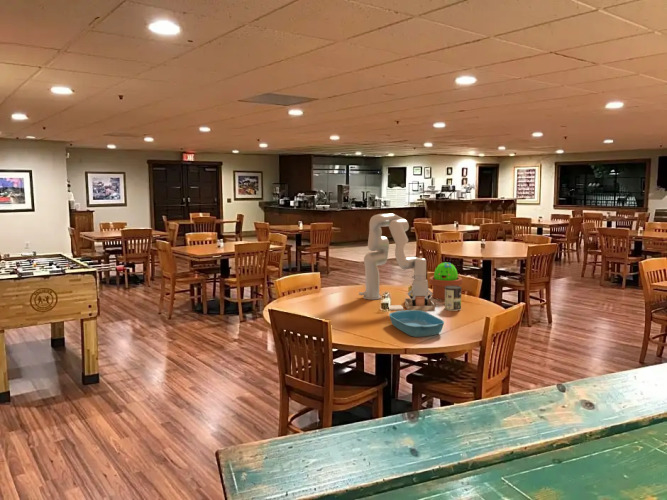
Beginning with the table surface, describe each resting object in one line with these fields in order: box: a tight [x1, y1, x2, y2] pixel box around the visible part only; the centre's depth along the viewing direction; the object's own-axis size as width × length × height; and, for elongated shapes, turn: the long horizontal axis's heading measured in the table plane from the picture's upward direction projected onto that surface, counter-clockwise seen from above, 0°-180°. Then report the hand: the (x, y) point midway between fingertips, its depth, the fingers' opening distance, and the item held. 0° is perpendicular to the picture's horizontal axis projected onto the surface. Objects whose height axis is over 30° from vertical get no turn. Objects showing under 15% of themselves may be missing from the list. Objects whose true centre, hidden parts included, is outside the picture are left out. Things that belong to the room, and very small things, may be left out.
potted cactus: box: [428, 261, 463, 301], centre depth 360 cm, size 22×22×25 cm
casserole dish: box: [388, 309, 445, 338], centre depth 286 cm, size 37×22×7 cm, turn 18°
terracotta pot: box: [415, 296, 425, 306], centre depth 333 cm, size 7×7×8 cm
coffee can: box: [444, 285, 463, 312], centre depth 329 cm, size 10×10×14 cm
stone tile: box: [388, 304, 404, 311], centre depth 333 cm, size 9×9×1 cm
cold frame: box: [404, 297, 436, 311], centre depth 333 cm, size 17×13×5 cm
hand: (419, 305), depth 333 cm, fingers open, 6 cm apart
